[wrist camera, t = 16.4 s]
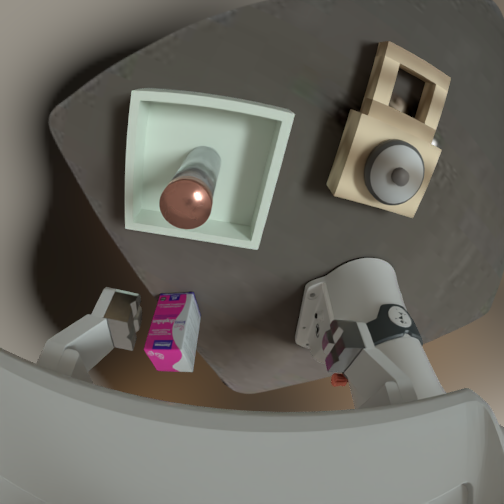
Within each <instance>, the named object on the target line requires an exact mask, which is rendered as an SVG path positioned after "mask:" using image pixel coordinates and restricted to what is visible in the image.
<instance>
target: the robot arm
mask: <svg viewBox="0 0 504 504" xmlns="http://www.w3.org/2000/svg"><path fill="white" fill-rule="evenodd" d="M312 293H313V294H312ZM140 302H141V296H140V294H136V293H131V292H126V291H122V290H118V289H113V288H109V287H106V288H105V289H104V290H103V292H102V294H101V296H100V298H99V300H98V302H97V304H96V306H95V308H94V310H93V312H92V314H91V315H89V314H88V315H86V316H84V317H83V318H81V319H80V320H78V321H76V322H75V323H74V324H72V325H70V326H69V327H67V328H66V329H64V330H62V331H61V332H60V333H58V334H56V335H55V336H53V337H52V338H50V339H49V340H47V342H46V344H45V346H44V348H43V350H42V353H41V355H40V357H39V359H38V361H37V363H36V364H35V363H33V362H30V361H28V360H26V359H23V358H21V357H19V356H17V355H15V354H12V353H10V352H8V351H6V350H4V349H2V348H0V504H504V427H503V426H501V425H499V423H498V421H497V419H496V417H495V414H494V412H493V411H492V409H491V407H490V406H489V404H488V403H487V402H486V401H485V400H483V399H482V398H481V397H480V396H479V395H478V394H476V393H475V392H473V391H472V390H471V389H469V388H464V389H461V390H457V391H454V392H450V393H446V392H445V391H444V389H443V387H442V386H441V384H440V382H439V380H438V379H437V377H436V375H435V373H434V371H433V368H432V367H431V365H430V362H429V360H428V358H427V356H426V354H425V352H424V350H423V348H422V345H423V341H422V338H421V336H420V333H419V331H418V329H417V327H416V325H415V323H414V321H413V319H412V318H411V316H410V315H409V314H408V312H407V310H406V307H405V305H404V302H403V299H402V295H401V292H400V290H399V287H398V283H397V278H396V274H395V271H394V269H393V267H392V266H391V265H390V264H389V263H387V262H386V261H384V260H381V259H377V258H362V259H357V260H353V261H350V262H348V263H346V264H343V265H342V266H340V267H338V268H337V269H335V270H334V271H332V272H331V273H329V274H328V275H326V276H324V277H321V278H318V279H315V280H312V281H310V282H308V283H307V284H306V286H305V290H304V295H303V300H302V305H301V310H300V315H299V320H298V325H297V329H296V334H295V342H296V343H297V344H298V345H300V346H302V347H305V348H308V349H310V351H311V354H312V357H313V358H314V359H315V360H316V361H318V362H320V363H323V364H326V367H327V371H328V372H342V374H337V373H335V374H333V375H332V379H331V381H332V382H331V383H332V385H333V386H340V385H341V386H345V385H346V383H347V382H349V385H350V389H351V393H352V397H353V402H354V406H355V409H350V410H337V411H321V412H320V411H319V412H259V411H242V410H229V409H218V408H208V407H201V406H192V405H186V404H179V403H173V402H167V401H162V400H157V399H151V398H147V397H141V396H137V395H133V394H129V393H124V392H120V391H116V390H113V389H109V388H105V387H102V386H98V385H94V384H93V382H92V380H91V378H90V376H89V374H88V371H89V370H90V369H91V368H92V367H94V366H95V365H96V364H97V363H98V362H99V361H100V360H101V359H103V358H104V357H105V356H106V355H107V354H108V353H109V352H110V351H111V350H112V349H114V347H116V348H121V349H126V350H131V351H133V349H134V345H135V342H136V339H137V338H136V332H137V331H138V330H139V329H140V326H141V320H142V308H141V307H140V306H139V305H140Z"/></svg>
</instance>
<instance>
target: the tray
mask: <svg viewBox="0 0 504 504" xmlns="http://www.w3.org/2000/svg"><path fill="white" fill-rule="evenodd" d="M294 116H295V114H294V113H293V112H291V111H290V110H288V109H285V108H281V107H277V106H273V105H268V104H264V103H259V102H254V101H249V100H244V99H238V98H233V97H227V96H220V95H214V94H207V93H199V92H190V91H181V90H170V89H156V88H143V89H137V90H132V93H131V101H130V109H129V119H128V130H127V144H126V163H125V229H130V230H137V231H143V232H149V233H156V234H162V235H168V236H175V237H181V238H187V239H193V240H200V241H206V242H212V243H218V244H224V245H231V246H237V247H243V248H249V249H255V250H258V247H259V244H260V240H261V236H262V233H263V229H264V226H265V222H266V218H267V215H268V211H269V207H270V204H271V200H272V196H273V193H274V189H275V186H276V182H277V178H278V175H279V171H280V167H281V164H282V160H283V156H284V153H285V149H286V145H287V141H288V138H289V134H290V130H291V127H292V123H293V119H294ZM199 146H207V147H211V148H213V149H214V150H215V151H217V153H218V154H219V156H220V158H221V167H220V171H219V175H218V179H217V183H216V187H215V191H214V196H213V205H212V209H211V214H210V216H209V218H208V220H207V221H206V222H205V223H204V224H203V225H201V226H199V227H197V228H194V229H181V228H177V227H175V226H173V225H171V224H170V223H169V222H167V221H166V220H165V218H164V217H163V215H162V213H161V211H160V207H159V201H160V196H161V194H162V192H163V191H164V189H165V188H166V186H167V185H168V183H169V182H171V180H172V179H173V177H174V176H175V174H176V172H177V171H178V169H179V168H180V166H181V165H182V163H183V162H184V160H185V159H186V157H187V156H188V154H189V153H190V152H191V151H192V150H193V149H194V148H196V147H199Z"/></svg>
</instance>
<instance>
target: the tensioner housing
mask: <svg viewBox="0 0 504 504" xmlns="http://www.w3.org/2000/svg"><path fill="white" fill-rule="evenodd" d="M399 68H400V69H402V70H404V71H406V72H408V73H410V74H412V75H413V76H415V77H417V78H419V79H421V80H422V81H424V82H425V85H424V88H423V92H422V95H421V99H420V102H419V105H418V109H417V112H416V115H415V118H412V117H410V116H408V115H406V114H404V113H402V112H400V111H398V110H396V109H394V108H391V107H389V106H388V104H389V101H390V97H391V94H392V91H393V87H394V84H395V80H396V77H397V73H398V69H399ZM450 80H451V78H450V77H449V76H447V75H446V74H444V73H443V72H441V71H440V70H438V69H437V68H435V67H434V66H432V65H430V64H429V63H427V62H426V61H424V60H422V59H421V58H419V57H417V56H416V55H414V54H412V53H410V52H408V51H407V50H405V49H403V48H401V47H399V46H397V45H395V44H394V43H392V42H390V41H386V42H379V45H378V49H377V52H376V56H375V60H374V64H373V67H372V71H371V75H370V78H369V82H368V85H367V89H366V92H365V96H364V99H363V102H362V106H361V109H360V112H357V111H355V110H352V109H350V112H349V116H348V119H347V122H346V125H345V129H344V132H343V135H342V138H341V141H340V144H339V147H338V150H337V154H336V157H335V160H334V163H333V166H332V169H331V172H330V175H329V178H328V180H327V183H326V185H327V186H328V188H329V189H330V191H331V192H332V194H333V195H334V196H336V197H340V198H344V199H348V200H352V201H355V202H359V203H363V204H366V205H370V206H374V207H377V208H381V209H384V210H388V211H391V212H394V213H398V214H401V215H404V216H408V217H411V218H413V217H414V214H415V212H416V210H417V208H418V206H419V204H420V202H421V199H422V197H423V195H424V193H425V190H426V188H427V186H428V183H429V181H430V179H431V176H432V174H433V171H434V169H435V166H436V164H437V161H438V158H439V156H440V153H441V149H439V148H437V147H435V146H434V145H432V144H431V143H432V140H433V137H434V134H435V131H436V128H437V125H438V122H439V119H440V116H441V112H442V109H443V106H444V102H445V99H446V95H447V92H448V88H449V84H450Z"/></svg>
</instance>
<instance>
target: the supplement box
mask: <svg viewBox="0 0 504 504" xmlns="http://www.w3.org/2000/svg"><path fill="white" fill-rule="evenodd" d="M200 319H201V314H200V311H199V308H198V305H197V301H196V298H195V295H194V292H187V293H172V294H160V297H159V300H158V303H157V306H156V310H155V313H154V316H153V319H152V322H151V326H150V329H149V332H148V336H147V339H146V343H145V346H144V351H145V352H146V354H147V356H148V357H149V358H150V360H151V362H152V363H153V365H154V367H155V368H156V370H157V371H173V372H193V368H194V361H195V353H196V346H197V339H198V333H199V326H200Z"/></svg>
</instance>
